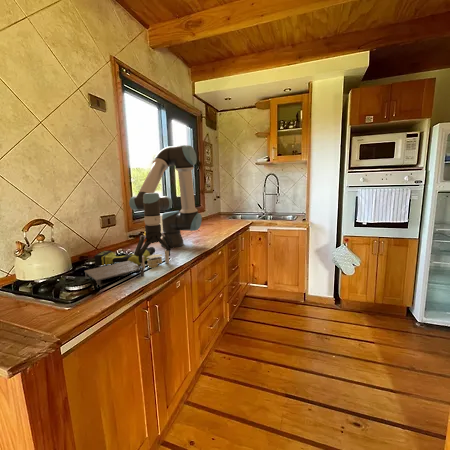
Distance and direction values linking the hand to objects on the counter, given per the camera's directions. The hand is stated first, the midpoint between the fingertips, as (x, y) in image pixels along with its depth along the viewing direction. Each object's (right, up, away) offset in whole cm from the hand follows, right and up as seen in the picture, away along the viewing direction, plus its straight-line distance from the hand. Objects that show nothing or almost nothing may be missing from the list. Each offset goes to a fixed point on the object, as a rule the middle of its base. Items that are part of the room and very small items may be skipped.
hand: (155, 265), depth 127 cm
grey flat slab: (-14, -3, -16) cm, 21 cm away
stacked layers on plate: (0, -1, 0) cm, 1 cm away
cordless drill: (-17, +1, +10) cm, 20 cm away
